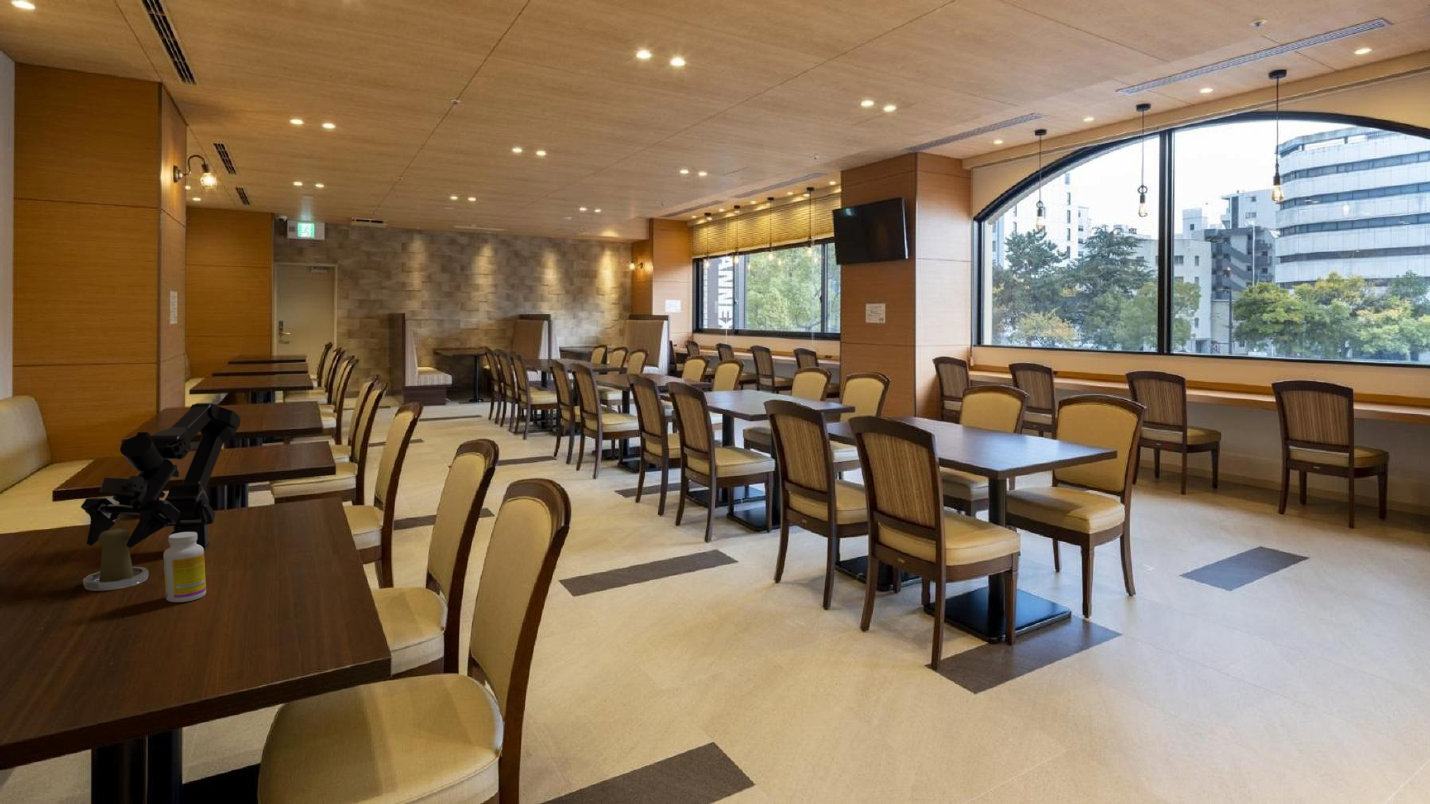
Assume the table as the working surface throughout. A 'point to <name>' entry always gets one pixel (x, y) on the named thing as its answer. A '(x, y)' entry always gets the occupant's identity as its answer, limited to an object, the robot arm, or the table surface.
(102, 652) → the table surface
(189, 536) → the supplement bottle
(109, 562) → the cork
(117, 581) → the ring seat
